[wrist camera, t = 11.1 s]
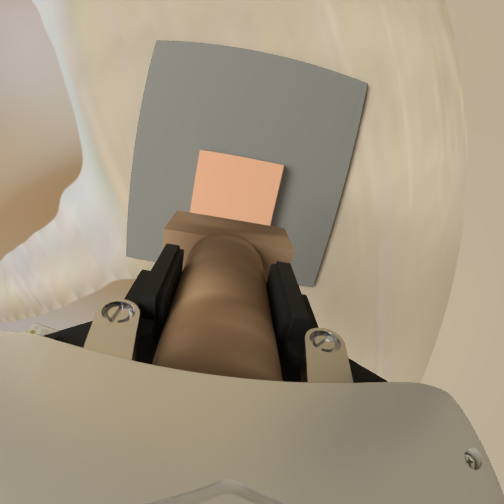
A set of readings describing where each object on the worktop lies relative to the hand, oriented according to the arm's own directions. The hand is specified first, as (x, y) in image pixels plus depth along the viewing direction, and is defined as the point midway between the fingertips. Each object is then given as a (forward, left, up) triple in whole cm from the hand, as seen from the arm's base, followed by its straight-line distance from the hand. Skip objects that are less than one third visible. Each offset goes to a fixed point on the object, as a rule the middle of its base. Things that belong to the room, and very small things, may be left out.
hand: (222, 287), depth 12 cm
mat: (0, -3, -19) cm, 19 cm away
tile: (0, +1, -18) cm, 18 cm away
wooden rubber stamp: (0, 0, -5) cm, 5 cm away
